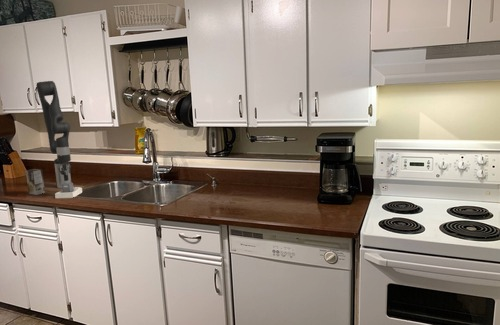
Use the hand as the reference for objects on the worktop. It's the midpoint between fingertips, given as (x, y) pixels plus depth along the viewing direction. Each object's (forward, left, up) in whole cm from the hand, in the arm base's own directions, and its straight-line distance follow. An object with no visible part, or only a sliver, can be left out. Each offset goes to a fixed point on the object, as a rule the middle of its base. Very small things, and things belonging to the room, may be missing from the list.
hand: (66, 180), depth 240 cm
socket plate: (-1, 0, -10) cm, 10 cm away
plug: (0, 0, -9) cm, 9 cm away
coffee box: (-9, -25, -10) cm, 28 cm away
